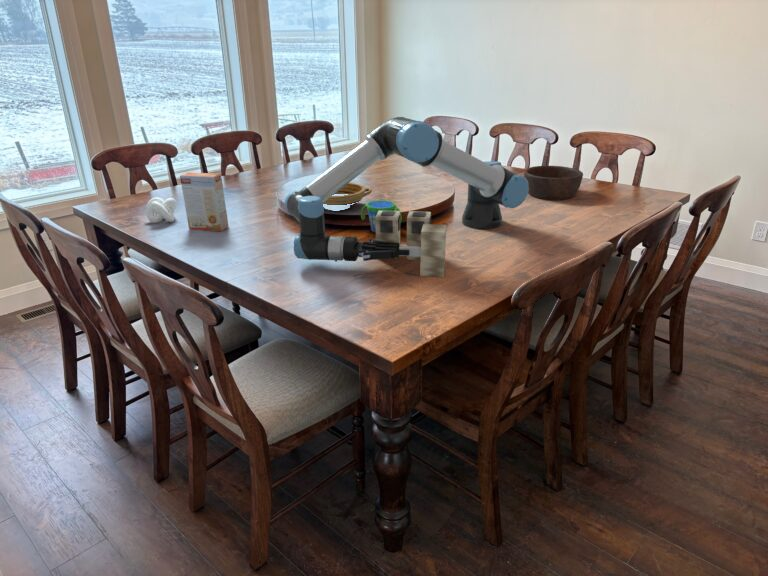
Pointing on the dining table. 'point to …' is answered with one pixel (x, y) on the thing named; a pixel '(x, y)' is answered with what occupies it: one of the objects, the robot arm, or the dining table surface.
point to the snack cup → (375, 207)
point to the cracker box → (204, 201)
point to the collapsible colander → (349, 195)
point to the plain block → (433, 250)
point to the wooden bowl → (553, 182)
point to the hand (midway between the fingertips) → (420, 251)
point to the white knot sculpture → (160, 209)
